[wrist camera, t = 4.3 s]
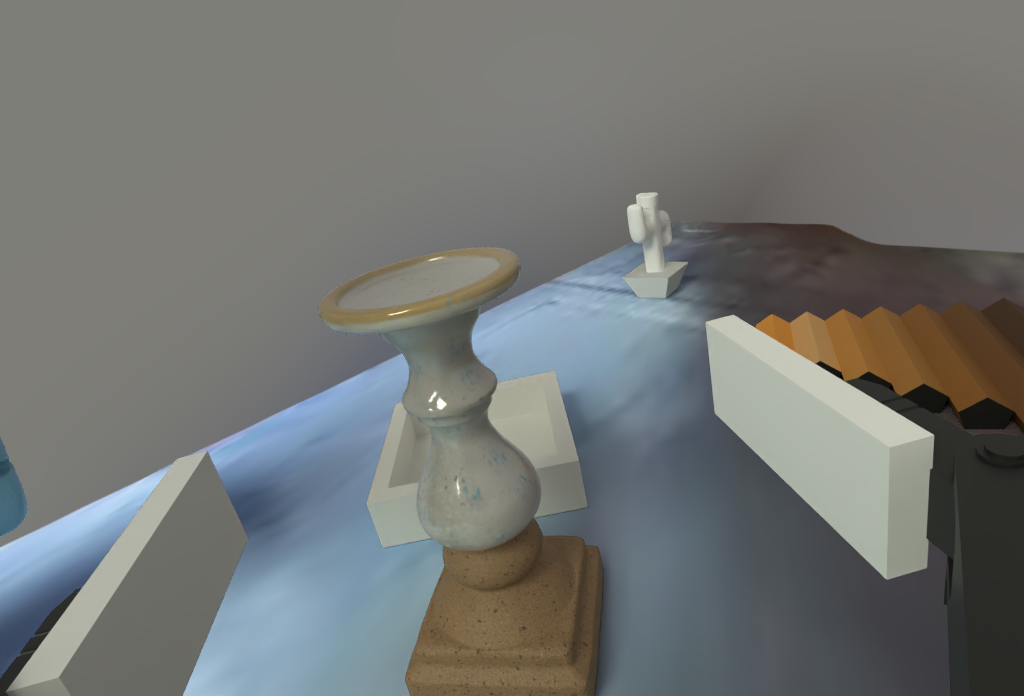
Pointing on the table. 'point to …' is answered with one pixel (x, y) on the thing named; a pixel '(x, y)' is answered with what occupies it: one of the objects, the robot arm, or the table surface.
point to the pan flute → (924, 356)
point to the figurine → (652, 250)
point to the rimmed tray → (519, 418)
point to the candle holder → (477, 493)
